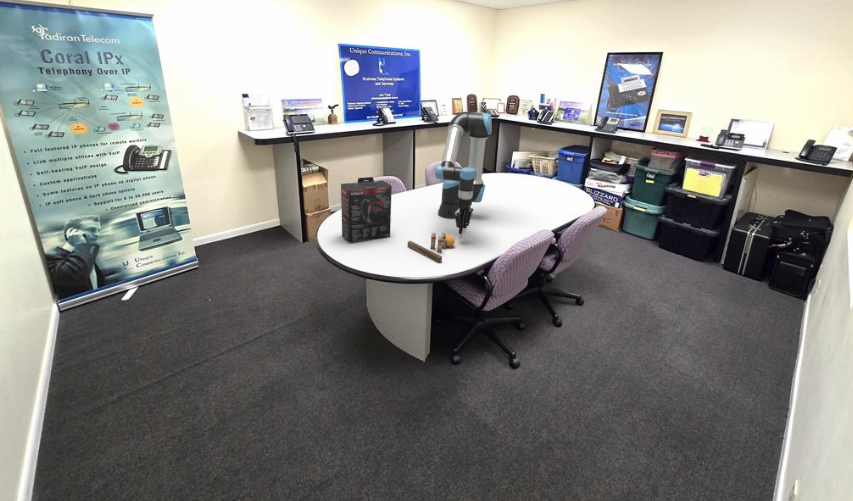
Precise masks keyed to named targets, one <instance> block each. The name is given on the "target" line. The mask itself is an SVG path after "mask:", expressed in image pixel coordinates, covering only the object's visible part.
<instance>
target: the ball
mask: <svg viewBox="0 0 853 501" xmlns="http://www.w3.org/2000/svg"><path fill="white" fill-rule="evenodd" d="M455 243H456V240H455V238H454V237H453V236H452V235H446V242H445V247H448V248H449V247H453V246H454V245H455Z"/></svg>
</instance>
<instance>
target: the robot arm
mask: <svg viewBox="0 0 853 501" xmlns="http://www.w3.org/2000/svg"><path fill="white" fill-rule="evenodd" d="M492 119H493V118H492V114H490V113H486V112H478V111H477V112H475V111H474V112H473V111H462V112H459V113H457V114H456V115H455V116H453V118H452V119H451V120H450V121H449V123H448V125H447V138H446V143H445V146H444V150H443V153H442V160H441V164H438V165H436V167H435V170H434V177H435V179H437V180H442V181H443V182H442V188H441V201H440V205H439V208H438V210H437V216H439V217H441V218H445V219H455V226H456V228H458V239H459V240H461V241H464V240H465V236H466V235H465V233H466V229H468V227H469V226H470V221H471V218H472V214H473V212H474V208H472V207H471V206H472V204H473V203H479V204H480V203H481V202H482V201H483V196H484V194H485V189H486V184H484V180H483V178H482V176H483V168H484V158H485V147H486V141H487V139H489V136H490V135H492V132H493V131H492V128H493V126H492V124H493V122H492ZM464 133H468V137H469V138H470V148H469V157H468V158H469V160H468V166H467V167H461V166H460V167H459V166H456V161H457V156H458V152H459V147H460V143H461V138H462V136H463V135H464Z"/></svg>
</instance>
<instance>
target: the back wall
mask: <svg viewBox="0 0 853 501" xmlns="http://www.w3.org/2000/svg"><path fill="white" fill-rule="evenodd" d="M407 248H409V249H411V250H412V251H414V252H416V253H419V254H421V255H423V256H424V257H427V258H428V259H429V260H430V259H431V261H434V262H436V263H438V264H439V263H440V264H441V263H442V262H443V256H442V255H440V254H438V253H437V252H434V251H432V250H431V249H430V250H429V249H428V248H426V247H424V246H422V245H420V244H418V243H416V242H415V241H412V240H408V241H407Z"/></svg>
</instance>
